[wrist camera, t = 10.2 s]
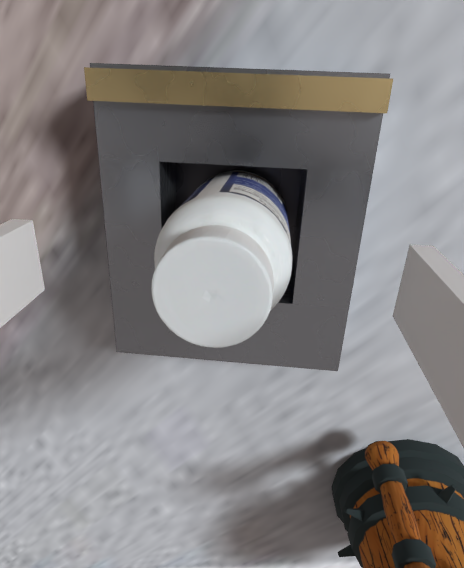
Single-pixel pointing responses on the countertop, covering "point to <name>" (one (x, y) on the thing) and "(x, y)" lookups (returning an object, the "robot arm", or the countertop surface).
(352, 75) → the jig
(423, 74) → the countertop surface
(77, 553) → the countertop surface
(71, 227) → the countertop surface
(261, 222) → the pill bottle
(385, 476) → the mug
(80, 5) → the countertop surface
